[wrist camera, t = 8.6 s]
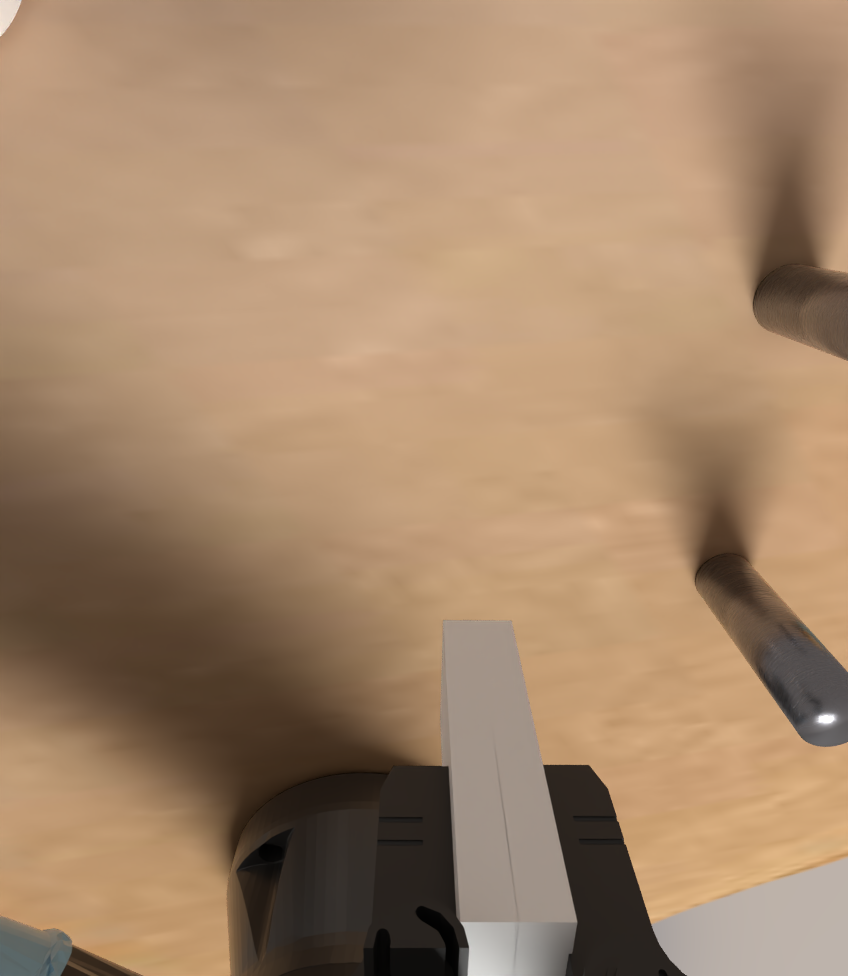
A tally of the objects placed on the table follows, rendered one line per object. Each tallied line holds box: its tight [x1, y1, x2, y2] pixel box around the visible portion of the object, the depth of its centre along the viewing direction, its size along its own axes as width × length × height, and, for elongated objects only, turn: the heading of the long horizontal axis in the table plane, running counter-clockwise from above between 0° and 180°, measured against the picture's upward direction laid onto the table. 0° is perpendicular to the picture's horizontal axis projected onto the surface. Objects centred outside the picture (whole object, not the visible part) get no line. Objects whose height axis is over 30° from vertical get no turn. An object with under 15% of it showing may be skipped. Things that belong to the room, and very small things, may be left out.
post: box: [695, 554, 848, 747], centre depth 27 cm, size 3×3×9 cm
